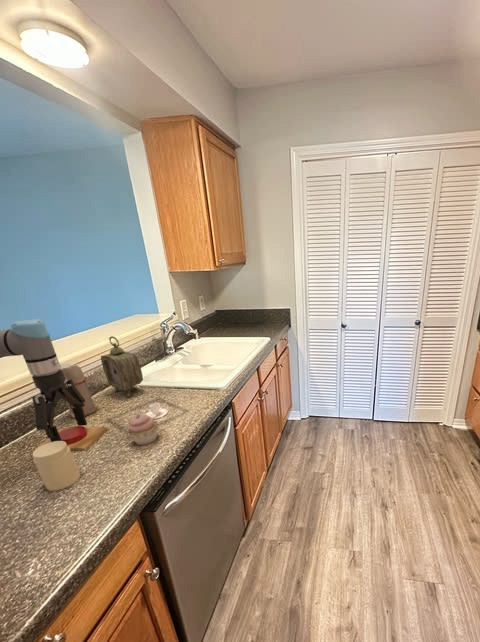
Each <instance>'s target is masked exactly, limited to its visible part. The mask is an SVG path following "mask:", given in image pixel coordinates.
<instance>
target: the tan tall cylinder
mask: <svg viewBox="0 0 480 642" xmlns="http://www.w3.org/2000/svg"><path fill="white" fill-rule="evenodd" d="M60 366H61V368H60V369H61V370H62V371H63V374H64V376H65V379H66V380H72V381H73V384H74V386H75V387H76V389H77V390H78V391H79V393H80V394H81V395H82V397H83V398H84V399H85V402H84V404H85V406H84V407H82V409H83V412H84V417H87V416H89V415H92V414H93V413H94V412H96V411H97V409H96V407H95V403H94V400H93V399H92V396H91V392H90V390H89V387H88V383H87V381H86V378H85V375H84V372H83V370H82V369H81V367H80V366H79V365H78V364H69V363H67V364H60ZM66 391H67V390H66ZM66 404H67V407H68V410H69V413H70V415H71V418H73V419H76V418H75V416H74V413H73V410H72V408H75V407H73V406H72V405H70V404H69V403H68V402H66Z"/></svg>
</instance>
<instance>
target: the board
mask: <svg viewBox="0 0 480 642" xmlns="http://www.w3.org/2000/svg"><path fill="white" fill-rule="evenodd" d="M85 428H86V430H87V436H86V437H85V438H83V439H82V440H80V441H78V442H76V443H73V444H69V445H67V446H69V448H70V450H71V452H72V451H86V450H88V448H89V447H91V446H92V445H93V444H94V443H95V442H96V441H98V439H99V438H100V437H102V435H103V434H104V433H106V432H107V431H108V427H85ZM64 429H65V428H61V429H59V430H58V433H59V432H60V431H62V430H64ZM50 442H51V440H50V438H47V439H46V440H45V441H43V442H42V443H40V444H39V445H38V446H37V447H35V448H34V451H35V450H36V449H37V448H39V447H40V446H42V445H45V444H47V443H50Z"/></svg>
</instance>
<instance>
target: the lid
mask: <svg viewBox="0 0 480 642" xmlns="http://www.w3.org/2000/svg"><path fill="white" fill-rule="evenodd" d="M86 428H87V427H85V426H78V425H75V426H70V427H66V428H63V429H64V430H62V431H60V432H59V435H60V438H61V440H62V441H64V442H66V444H67V445H69V444H73V443H76V442H78V441H80V440H82V439H83V438H85V437H86V436H87V430H86Z"/></svg>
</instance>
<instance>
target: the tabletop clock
mask: <svg viewBox="0 0 480 642" xmlns="http://www.w3.org/2000/svg"><path fill="white" fill-rule="evenodd" d="M112 339H114V340H115V341H116V342H114V343H113V342H112ZM108 340H109V343H110V344H111V346H112V348H110V351H109V353H107V354H103V355H100V361H101V365H102V369H103V372H104V375H105V379H106V380H107V382H108V384H109V385H110V386H111V387H112V388H114V390H113V391H114V392H115V393H118V392H119V390H120V391H124V390H126V389H127V393H126V397H127V398H131V397H132V393H131V391H132V392H133V391H135V390H136V387H135V386H137V385H140V384H141V383H142V382H143V381H144V376H143V372H142V367H141V364H140V361H139V359H138V356H137V355H136V354H135V353H132V352H130V351H125V350H124V349H123V347H120V342H119V340H118V338H116V337H115V336H112V335H111V336H110V337H109V338H108Z"/></svg>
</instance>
